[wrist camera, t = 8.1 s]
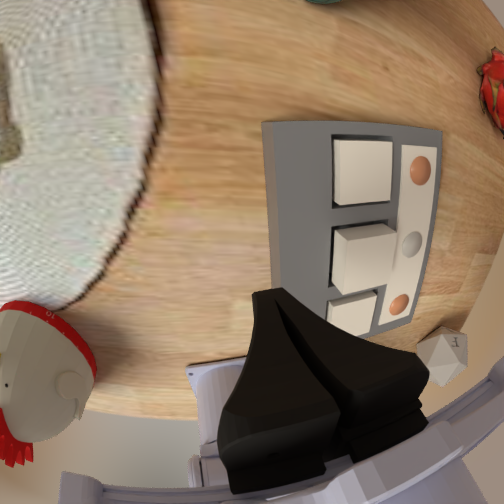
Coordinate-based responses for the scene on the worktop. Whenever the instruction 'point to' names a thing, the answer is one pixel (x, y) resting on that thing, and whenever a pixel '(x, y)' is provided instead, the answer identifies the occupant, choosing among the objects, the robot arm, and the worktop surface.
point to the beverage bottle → (324, 1)
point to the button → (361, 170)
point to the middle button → (363, 257)
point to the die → (443, 354)
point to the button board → (348, 212)
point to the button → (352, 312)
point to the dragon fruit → (493, 88)
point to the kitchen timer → (39, 378)
